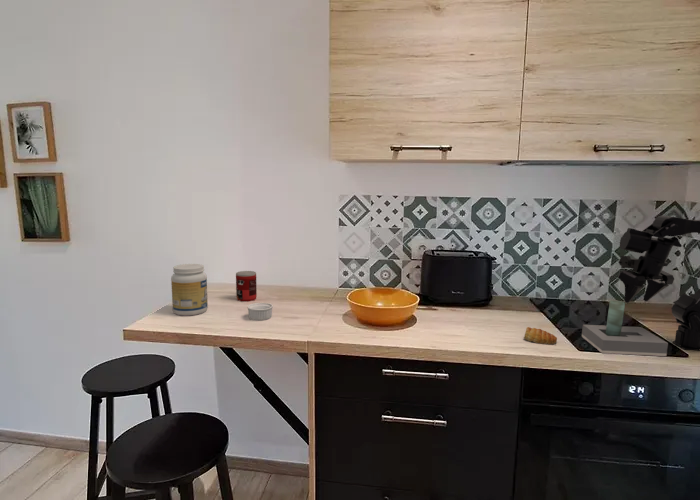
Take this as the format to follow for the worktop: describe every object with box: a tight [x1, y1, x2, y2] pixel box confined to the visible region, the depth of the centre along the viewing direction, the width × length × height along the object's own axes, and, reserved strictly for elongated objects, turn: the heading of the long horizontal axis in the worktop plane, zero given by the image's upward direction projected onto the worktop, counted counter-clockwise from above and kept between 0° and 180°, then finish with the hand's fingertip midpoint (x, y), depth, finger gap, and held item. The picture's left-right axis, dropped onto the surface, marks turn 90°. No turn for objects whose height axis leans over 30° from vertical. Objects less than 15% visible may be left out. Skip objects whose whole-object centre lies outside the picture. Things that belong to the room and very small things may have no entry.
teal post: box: [605, 299, 626, 336], centre depth 137 cm, size 4×4×13 cm
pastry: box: [523, 326, 558, 345], centre depth 141 cm, size 9×7×4 cm
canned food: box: [235, 270, 258, 303], centre depth 181 cm, size 8×8×11 cm
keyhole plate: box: [581, 324, 669, 357], centre depth 138 cm, size 18×14×4 cm
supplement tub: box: [170, 263, 209, 317], centre depth 163 cm, size 12×12×17 cm
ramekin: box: [246, 302, 274, 322], centre depth 159 cm, size 9×9×4 cm
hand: (635, 301), depth 142 cm, fingers open, 9 cm apart
